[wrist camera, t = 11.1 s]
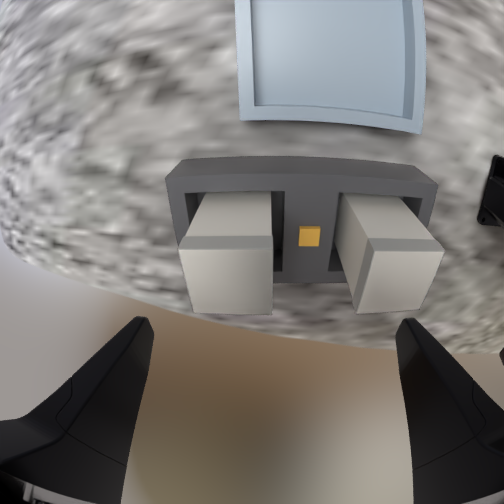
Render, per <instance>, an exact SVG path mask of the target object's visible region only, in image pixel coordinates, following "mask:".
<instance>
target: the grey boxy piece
mask: <svg viewBox="0 0 504 504" xmlns="http://www.w3.org/2000/svg"><path fill="white" fill-rule="evenodd" d="M165 180H166V186H167V192H168V197H169V203H170V208H171V213H172V219H173V224H174V229H175V234H176V238H177V243H178V247H179V244H180V242H181V240H182V238H183V236H185V235H186V233H187V231H188V229H189V227H190V224H191V222H192V220H193V218H194V216H195V214H196V212H197V210H198V208H199V206H200V204H201V202H202V200H203V198H204V196H205V194H206V192H225V191H271V223H272V236H273V283H348V286H349V289H350V292H351V296H352V303H353V307H354V310H355V314H371V313H386V312H400V311H412V310H420V308H421V306H422V304H423V302H424V300H425V297H426V295H427V293H428V291H429V289H430V287H431V284H432V282H433V280H434V278H435V275H436V273H437V270H438V268H439V266H440V263H441V261H442V258H443V255H444V253H445V250H444V249H443V247H442V246H441V245H440V243H439V242H438V241H437V240H435V239H434V238H433V236H432V235H431V234H430V233H429V231H428V230H427V227H428V223H429V220H430V216H431V213H432V209H433V205H434V201H435V197H436V193H437V189H438V184H437V183H435V182H434V181H433V180H432V179H430V178H429V177H428V176H427V175H425V174H424V173H423V172H421V171H420V170H419V169H417V168H416V167H415V166H410V165H403V164H395V163H386V162H377V161H366V160H355V159H341V158H323V157H294V156H248V157H219V158H201V159H187V160H182V161H181V162H180V163H179V164H178V165H177V166H176V167H175V168H174V169H173V170H172V171H171V172H170V173H169V174H168V175H167V176H166V177H165Z"/></svg>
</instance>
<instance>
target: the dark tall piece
mask: <svg viewBox="0 0 504 504" xmlns="http://www.w3.org/2000/svg"><path fill="white" fill-rule="evenodd" d="M500 358H501V360H502V363H503V365H504V349H503V350H502V351H501V353H500Z"/></svg>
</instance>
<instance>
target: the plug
mask: <svg viewBox="0 0 504 504" xmlns="http://www.w3.org/2000/svg"><path fill="white" fill-rule="evenodd" d="M178 254H179V258H180V262H181V266H182V271H183V275H184V279H185V283H186V287H187V291H188V294H189V298H190V302H191V306H192V310H193V313H200V314H227V315H272V299H273V236H272V223H271V191H225V192H206V194H205V196H204V198H203V200H202V202H201V204H200V206H199V208H198V210H197V212H196V214H195V216H194V218H193V220H192V222H191V224H190V227H189V229H188V231H187V233H186V235H185V236H183V238H182V240H181V242H180V244H179V247H178Z"/></svg>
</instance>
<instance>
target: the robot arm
mask: <svg viewBox="0 0 504 504" xmlns="http://www.w3.org/2000/svg"><path fill="white" fill-rule="evenodd" d="M497 162H498V163H497ZM482 218H483V219H482ZM478 222H479V223H480V224H482V225H491V226H501V227H502V228H503V229H504V157H502V156H499V155H495V156H494V158H493V162H492V167H491V172H490V176H489V180H488V184H487V188H486V192H485V195H484V199H483V202H482V206H481V209H480V212H479V215H478ZM153 340H154V332H153V329H152V327H151V325H150V322H149V320H148V318H146V317H141V316H136V317H135V318H133V320H131V321H130V322H129V323H128V324H127V325H126V326H125V327H124V328H122V329H121V330H120V331H119V332H118V333H117V334H116V335H115V336H114V337H113V338H112V339H110V340H109V341H108V342H107V343H106V344H105V345H104V346H103V347H102V348H101V349H100V350H99V351H98V352H97V353H95V354H94V355H93V357H91V358H90V359H89V360H88V361H87V362H86V363H85V364H84V365H83V366H82V367H81V368H80V369H79V370H78V371H77V372H75V373H74V374H73V375H72V377H70V378H69V379H68V380H67V381H66V382H65V383H64V384H63V385H62V386H61V387H60V388H58V389H57V390H56V391H55V392H54V393H53V394H52V395H50V396H49V397H48V398H47V399H46V400H44V401H43V402H42V403H41V404H39V405H38V406H37V407H36V408H35V409H33V410H32V411H31V412H30V413H28V414H27V415H25V416H23V417H21V418H18V419H12V420H3V421H0V504H121V497H122V491H123V485H124V479H125V474H126V468H127V462H128V457H129V452H130V447H131V442H132V438H133V433H134V429H135V424H136V420H137V415H138V411H139V407H140V403H141V399H142V395H143V391H144V387H145V383H146V380H147V376H148V371H149V365H150V359H151V352H152V346H153ZM396 347H397V354H398V364H399V374H400V380H401V385H402V390H403V396H404V402H405V408H406V415H407V422H408V429H409V437H410V446H411V457H412V469H413V471H412V472H413V496H414V504H504V410H503V409H502V408H501V407H500V406H499V405H497V404H496V403H495V402H494V401H493V400H492V399H491V398H490V397H489V396H488V395H487V394H486V393H485V391H484V390H483V389H482V388H481V387H480V386H479V385H478V384H477V383H476V382H475V381H474V380H473V378H472V377H471V376H470V375H469V374H468V373H467V372H466V371H465V369H464V368H463V367H462V366H461V365H460V364H459V363H458V362H457V361H456V360H455V359H454V358H453V357H452V355H451V354H450V353H449V352H448V351H447V350H446V349H445V348H444V347H443V346H442V345H441V344H440V343H439V342H438V341H437V340H436V339H435V338H434V337H433V336H432V335H431V334H430V333H429V332H428V331H427V330H426V329H425V328H424V327H423V326H422V325H421V324H420V323H419V322H418V321H417V320H416V319H415V318H405V319H403V320H402V322H401V324H400V326H399V328H398V330H397V332H396Z"/></svg>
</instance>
